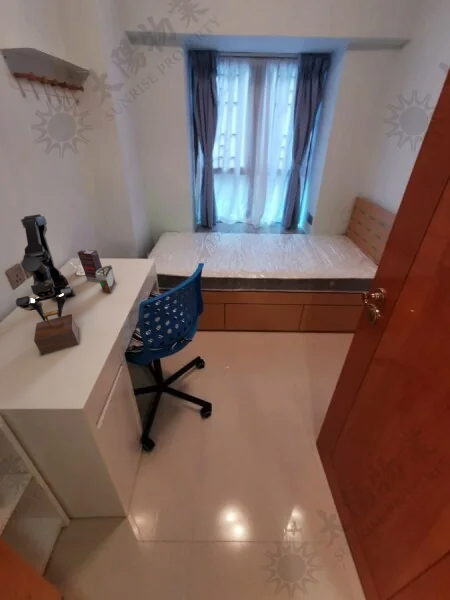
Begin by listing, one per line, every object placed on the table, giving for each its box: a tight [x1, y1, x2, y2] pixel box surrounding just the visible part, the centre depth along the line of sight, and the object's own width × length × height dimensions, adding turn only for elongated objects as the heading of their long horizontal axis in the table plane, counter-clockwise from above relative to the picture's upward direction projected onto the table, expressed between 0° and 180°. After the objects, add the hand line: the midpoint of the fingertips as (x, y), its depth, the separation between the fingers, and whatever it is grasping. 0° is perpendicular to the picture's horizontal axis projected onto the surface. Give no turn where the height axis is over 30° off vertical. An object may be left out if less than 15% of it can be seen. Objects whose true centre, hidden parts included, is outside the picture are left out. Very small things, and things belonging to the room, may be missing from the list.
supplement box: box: [76, 248, 103, 283], centre depth 144 cm, size 9×5×16 cm, turn 71°
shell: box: [69, 255, 86, 276], centre depth 153 cm, size 9×12×9 cm
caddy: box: [34, 317, 80, 356], centre depth 105 cm, size 10×12×6 cm
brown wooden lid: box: [33, 309, 74, 343], centre depth 103 cm, size 11×12×5 cm
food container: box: [96, 264, 117, 294], centre depth 136 cm, size 12×6×10 cm, turn 5°
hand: (52, 318), depth 105 cm, fingers closed on brown wooden lid, 5 cm apart
